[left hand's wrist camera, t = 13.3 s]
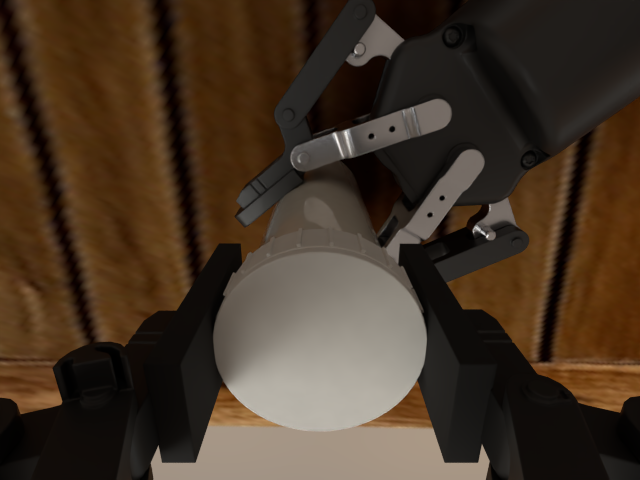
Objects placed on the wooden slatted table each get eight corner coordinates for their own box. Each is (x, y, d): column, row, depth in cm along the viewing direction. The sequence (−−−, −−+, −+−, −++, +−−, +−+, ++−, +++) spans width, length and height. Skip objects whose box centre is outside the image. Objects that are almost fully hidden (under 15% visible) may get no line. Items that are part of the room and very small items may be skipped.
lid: (317, 419, 14) (316, 463, 12) (184, 311, 12) (163, 346, 10) (454, 319, 12) (474, 355, 11) (323, 182, 11) (324, 200, 9)
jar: (284, 230, 27) (241, 409, 12) (279, 156, 25) (221, 260, 10) (357, 228, 27) (404, 404, 12) (357, 153, 25) (412, 254, 10)
